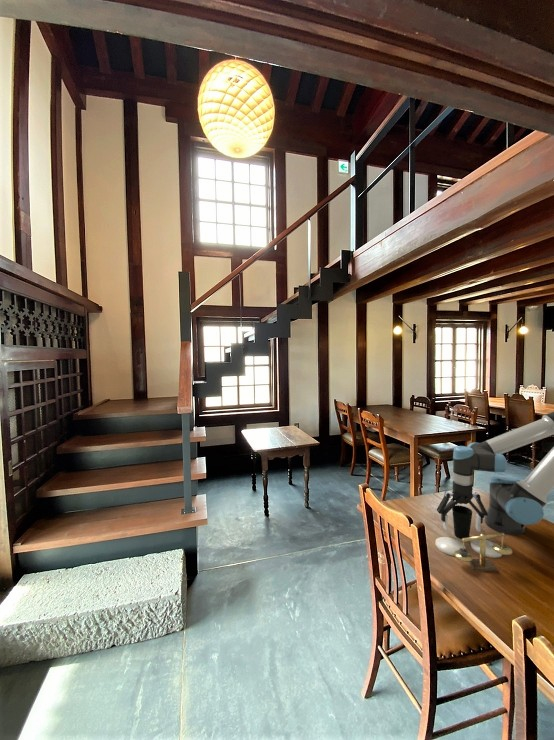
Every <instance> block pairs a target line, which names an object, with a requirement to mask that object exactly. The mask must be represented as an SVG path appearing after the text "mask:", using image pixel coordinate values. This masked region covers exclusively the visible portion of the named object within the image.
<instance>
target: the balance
mask: <svg viewBox="0 0 554 740" xmlns="http://www.w3.org/2000/svg"><path fill="white" fill-rule="evenodd" d="M499 537H500V538H501V543H496V544H493V549H494V550H495V551H496V552H498V553H500V554H503V555H504V556H511V555H512V554H513V550H512V548H510V547H509V546H507V545H505V544H504V537H505V533H502V532H497V533H490V534H489V533H488V534H484V533H480V534H479V535H477V536H469V538H462V539H461V541H462V544H463V548H459V550H457V551H455V552H454V555H455V556H454V557H455V558H456V559H457V560H459V561H461V562H465V563H468V564H469V565H470V566H471V568H472V569H473V570H474V571H477V572H478V571H479V572H493V573H494V572H495V573H498V571H499V570H498V567H497V566H496V565H495V564H494V563H493V562H492V561H493V560H491V559H486V557H485V553H486V540H488V539H494V538H499ZM474 540H480V554H479V558H474V557H473V555H472V554H471V553H469V552H468V551H467V548H466V549H464V546H465V543H466V542H471V541H474ZM503 555H502V556H503Z"/></svg>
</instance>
